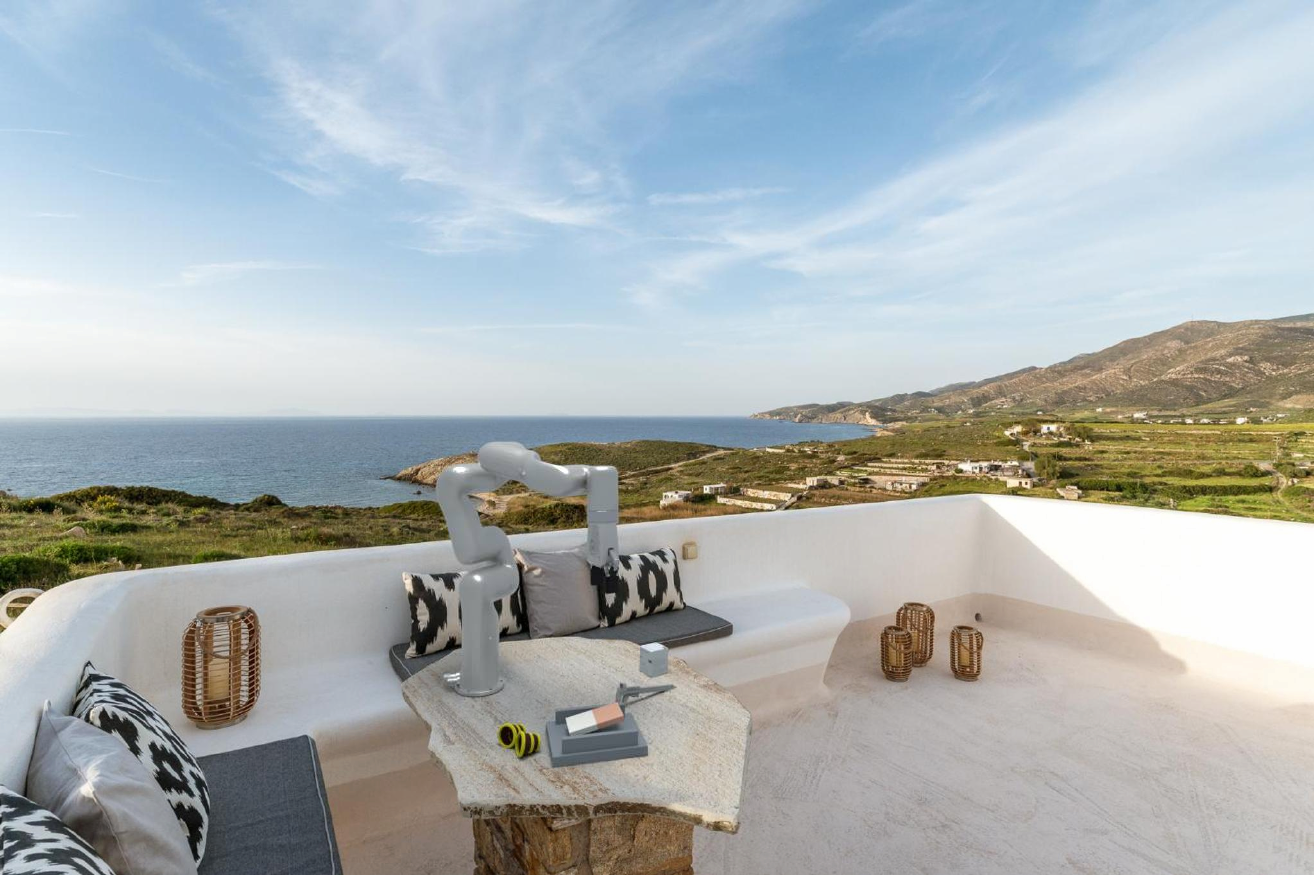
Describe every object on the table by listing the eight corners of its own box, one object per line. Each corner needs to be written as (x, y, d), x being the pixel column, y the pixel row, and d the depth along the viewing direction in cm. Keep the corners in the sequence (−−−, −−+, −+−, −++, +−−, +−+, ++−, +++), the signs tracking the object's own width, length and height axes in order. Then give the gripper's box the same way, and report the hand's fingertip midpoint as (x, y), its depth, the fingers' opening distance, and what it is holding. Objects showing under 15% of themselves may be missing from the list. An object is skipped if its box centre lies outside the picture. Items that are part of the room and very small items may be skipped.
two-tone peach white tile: (570, 738, 130) (569, 733, 130) (566, 723, 137) (565, 718, 137) (624, 720, 133) (623, 715, 133) (618, 706, 140) (617, 701, 140)
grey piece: (552, 767, 125) (553, 742, 125) (545, 730, 140) (546, 708, 140) (647, 755, 130) (648, 731, 130) (631, 721, 145) (631, 700, 145)
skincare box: (638, 671, 176) (639, 645, 176) (655, 666, 180) (656, 641, 180) (651, 678, 172) (651, 651, 172) (668, 673, 175) (668, 647, 175)
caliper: (618, 710, 152) (618, 685, 151) (615, 709, 152) (615, 684, 152) (676, 688, 165) (677, 665, 165) (673, 687, 166) (674, 664, 166)
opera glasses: (540, 757, 130) (545, 732, 131) (520, 761, 127) (524, 736, 127) (515, 741, 137) (519, 717, 138) (495, 744, 133) (499, 720, 134)
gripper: (576, 514, 153) (577, 583, 153) (600, 522, 137) (601, 598, 137) (604, 512, 156) (605, 580, 156) (631, 519, 140) (632, 594, 140)
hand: (604, 588), depth 146 cm, fingers open, 9 cm apart
